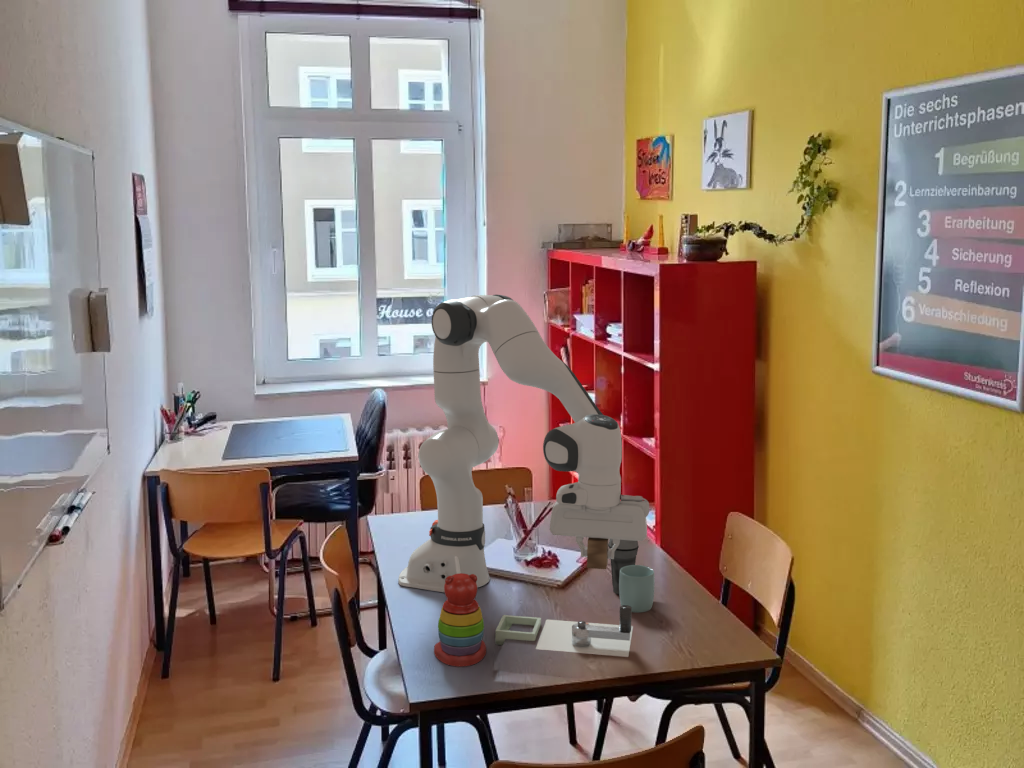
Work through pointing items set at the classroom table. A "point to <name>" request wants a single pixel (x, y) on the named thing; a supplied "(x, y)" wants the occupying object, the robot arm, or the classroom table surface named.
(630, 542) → the beverage cup
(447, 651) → the stacking bear
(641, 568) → the cup
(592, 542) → the block
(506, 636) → the tray
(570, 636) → the crank plate
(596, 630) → the crank
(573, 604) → the classroom table surface
